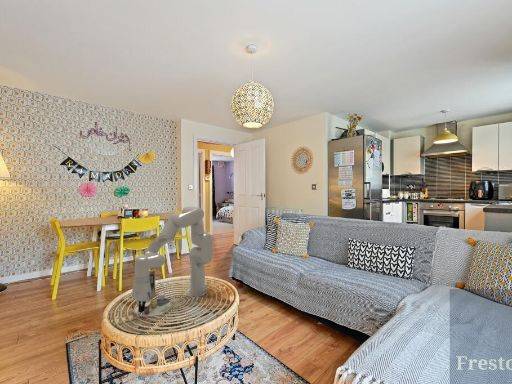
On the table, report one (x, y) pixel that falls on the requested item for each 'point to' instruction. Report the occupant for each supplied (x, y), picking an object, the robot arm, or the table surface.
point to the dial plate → (160, 308)
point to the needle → (150, 306)
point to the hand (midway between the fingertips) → (141, 311)
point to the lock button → (161, 297)
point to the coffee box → (152, 283)
